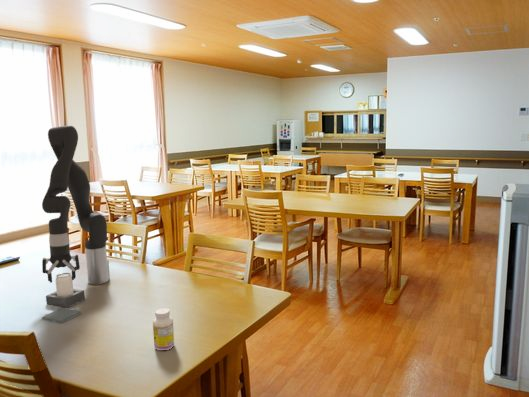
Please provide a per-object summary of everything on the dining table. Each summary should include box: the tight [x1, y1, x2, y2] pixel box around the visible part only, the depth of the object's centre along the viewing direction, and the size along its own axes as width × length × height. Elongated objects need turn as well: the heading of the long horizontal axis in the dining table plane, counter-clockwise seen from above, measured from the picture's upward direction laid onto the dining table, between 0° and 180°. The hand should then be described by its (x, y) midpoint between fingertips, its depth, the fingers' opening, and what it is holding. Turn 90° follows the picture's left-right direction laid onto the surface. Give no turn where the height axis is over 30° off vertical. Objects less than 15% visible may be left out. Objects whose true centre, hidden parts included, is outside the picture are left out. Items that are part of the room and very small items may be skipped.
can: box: [55, 272, 74, 297], centre depth 196 cm, size 6×6×12 cm
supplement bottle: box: [152, 307, 175, 351], centre depth 155 cm, size 7×7×13 cm
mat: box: [41, 307, 82, 324], centre depth 183 cm, size 10×10×1 cm
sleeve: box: [45, 288, 86, 309], centre depth 197 cm, size 11×11×4 cm
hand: (62, 280), depth 196 cm, fingers open, 8 cm apart
